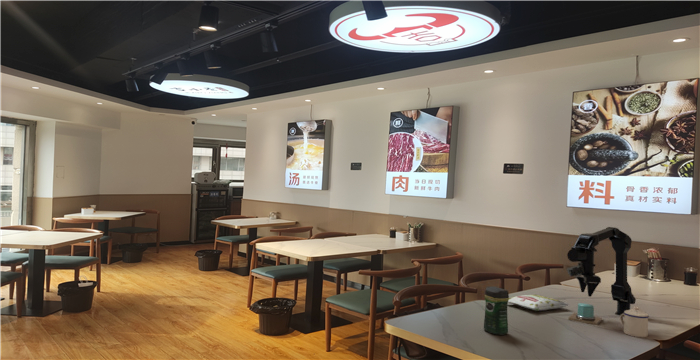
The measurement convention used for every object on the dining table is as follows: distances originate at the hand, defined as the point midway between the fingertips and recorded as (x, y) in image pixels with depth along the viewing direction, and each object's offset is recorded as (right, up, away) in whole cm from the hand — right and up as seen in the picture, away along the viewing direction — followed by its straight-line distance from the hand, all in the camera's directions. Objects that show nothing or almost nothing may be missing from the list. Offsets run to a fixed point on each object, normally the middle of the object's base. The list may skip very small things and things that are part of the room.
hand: (586, 294), depth 216 cm
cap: (0, -10, 0) cm, 10 cm away
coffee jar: (-50, -10, -24) cm, 57 cm away
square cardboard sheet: (0, -12, 0) cm, 12 cm away
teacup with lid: (+10, -12, -19) cm, 25 cm away
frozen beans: (-16, -12, +20) cm, 28 cm away
